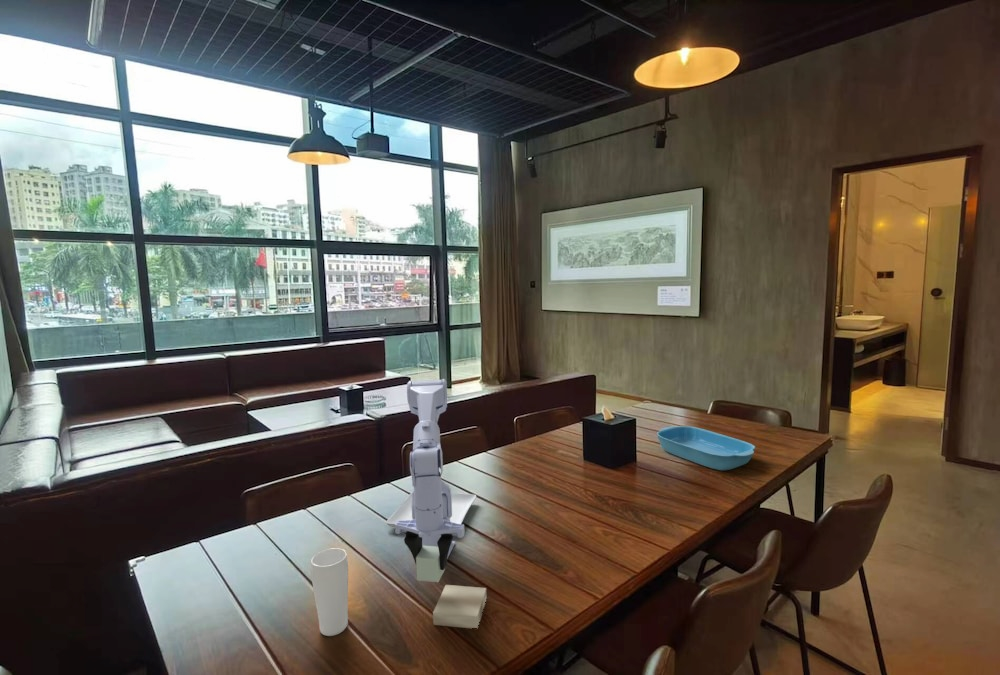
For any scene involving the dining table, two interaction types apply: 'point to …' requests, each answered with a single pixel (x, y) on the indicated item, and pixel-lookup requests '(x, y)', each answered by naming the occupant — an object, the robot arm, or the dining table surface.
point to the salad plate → (459, 509)
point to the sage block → (428, 564)
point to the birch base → (460, 606)
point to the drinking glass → (331, 589)
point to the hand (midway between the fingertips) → (431, 566)
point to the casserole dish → (705, 447)
